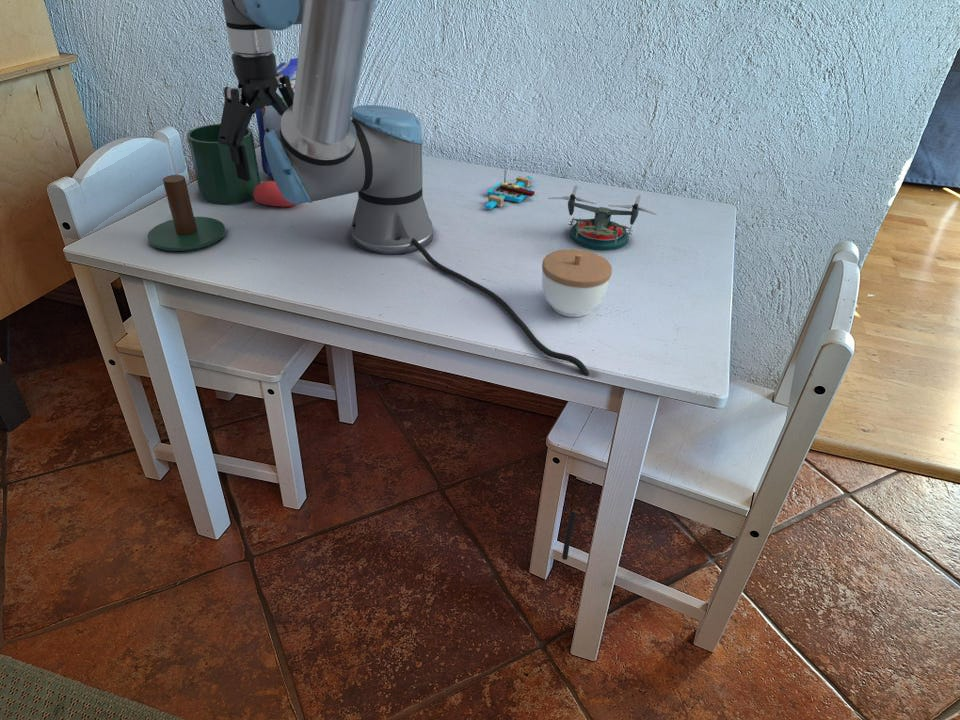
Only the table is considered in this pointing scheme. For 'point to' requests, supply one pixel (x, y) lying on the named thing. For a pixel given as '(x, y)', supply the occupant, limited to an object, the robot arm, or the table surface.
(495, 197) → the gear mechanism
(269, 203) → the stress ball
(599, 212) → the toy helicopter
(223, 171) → the canister
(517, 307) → the table surface
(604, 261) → the trinket box
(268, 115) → the lunch box
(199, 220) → the canister lid
